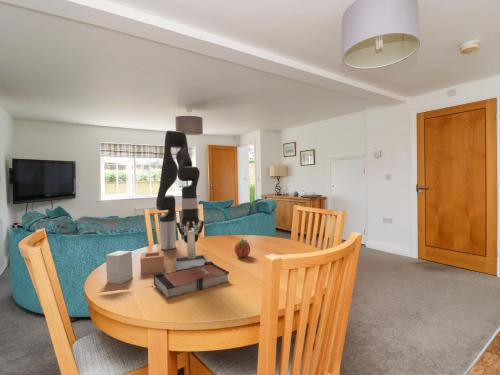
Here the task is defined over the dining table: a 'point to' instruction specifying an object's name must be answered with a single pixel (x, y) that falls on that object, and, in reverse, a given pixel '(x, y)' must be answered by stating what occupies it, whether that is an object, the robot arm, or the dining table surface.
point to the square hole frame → (152, 262)
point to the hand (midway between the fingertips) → (191, 242)
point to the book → (190, 279)
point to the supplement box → (119, 266)
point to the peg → (191, 245)
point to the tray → (189, 262)
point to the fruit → (242, 248)
